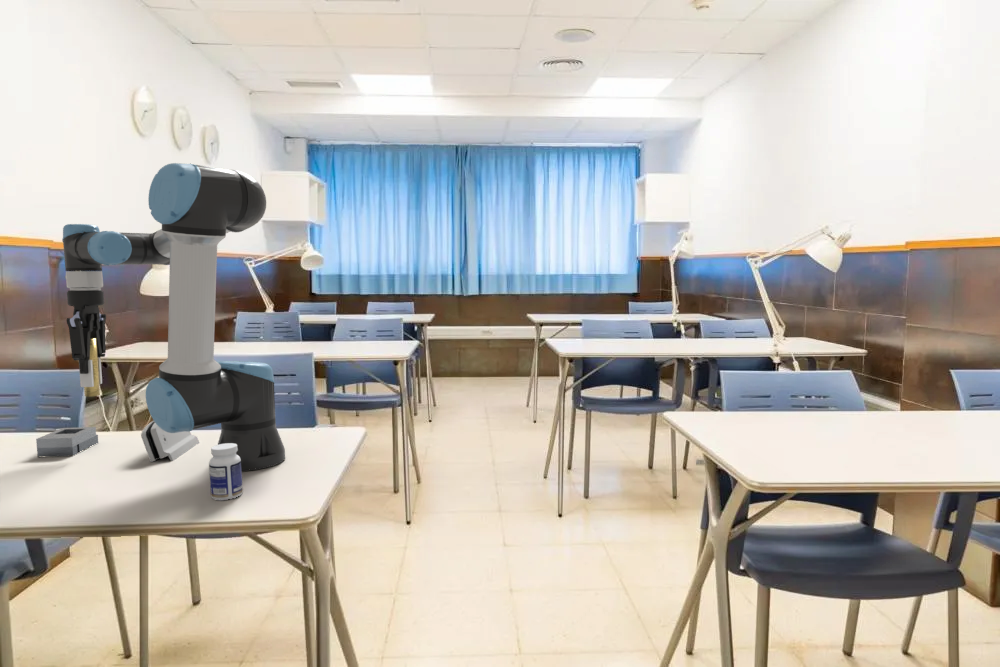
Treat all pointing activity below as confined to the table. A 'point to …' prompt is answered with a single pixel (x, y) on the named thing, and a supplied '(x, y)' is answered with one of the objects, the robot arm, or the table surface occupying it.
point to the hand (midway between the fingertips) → (91, 384)
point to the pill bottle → (225, 472)
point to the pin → (93, 356)
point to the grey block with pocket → (66, 441)
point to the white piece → (166, 442)
